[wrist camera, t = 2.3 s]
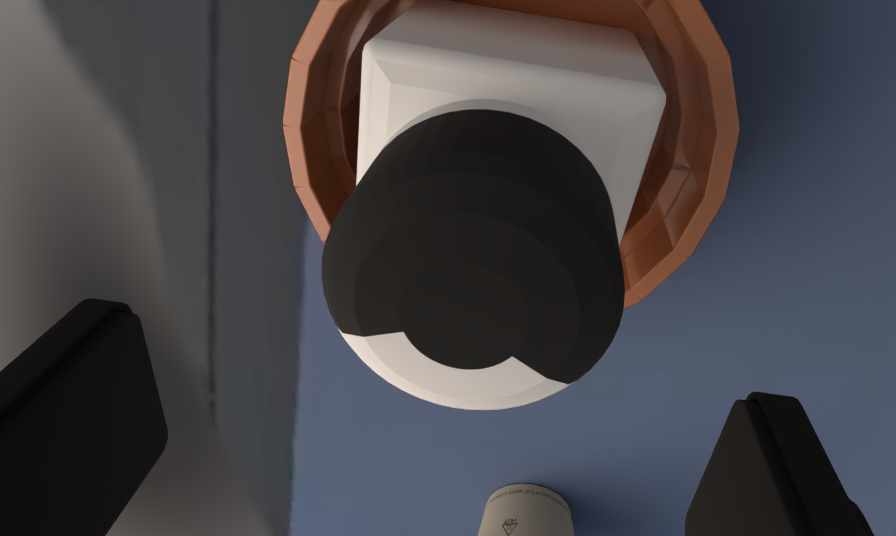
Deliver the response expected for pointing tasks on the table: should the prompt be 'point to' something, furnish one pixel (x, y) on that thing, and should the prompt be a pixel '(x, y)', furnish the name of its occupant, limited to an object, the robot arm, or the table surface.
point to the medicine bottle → (490, 201)
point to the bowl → (602, 3)
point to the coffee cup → (526, 513)
